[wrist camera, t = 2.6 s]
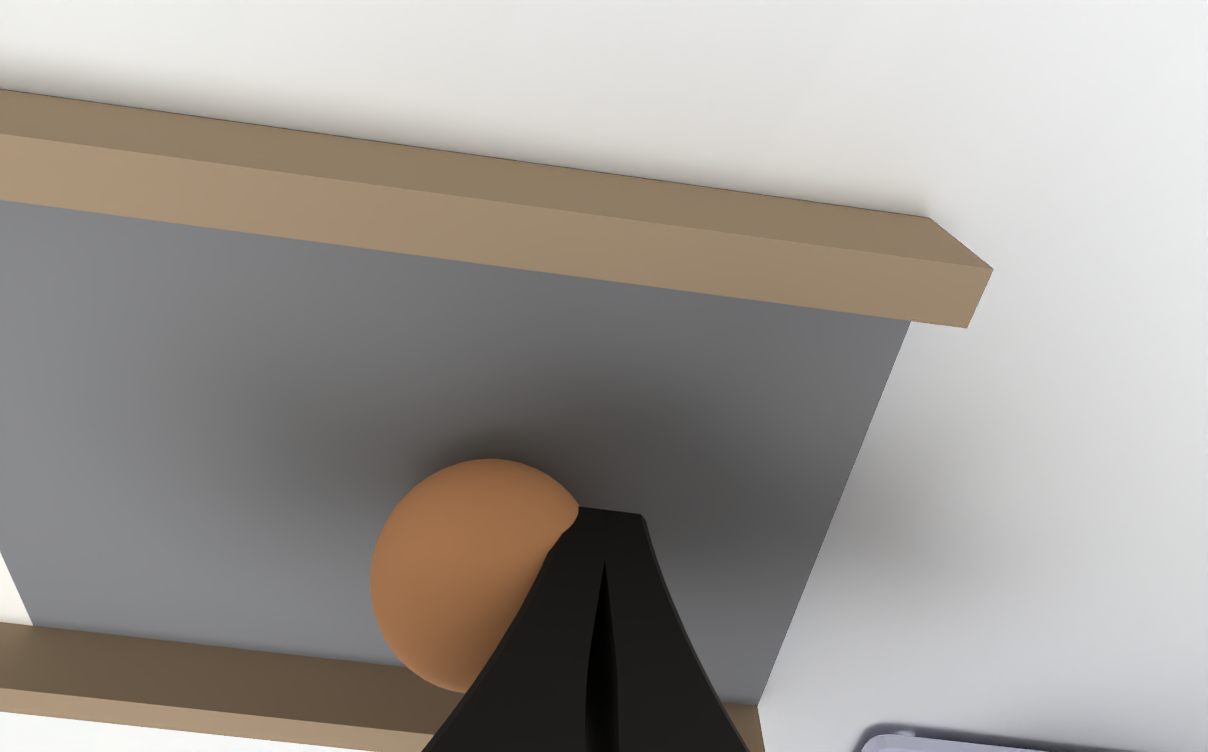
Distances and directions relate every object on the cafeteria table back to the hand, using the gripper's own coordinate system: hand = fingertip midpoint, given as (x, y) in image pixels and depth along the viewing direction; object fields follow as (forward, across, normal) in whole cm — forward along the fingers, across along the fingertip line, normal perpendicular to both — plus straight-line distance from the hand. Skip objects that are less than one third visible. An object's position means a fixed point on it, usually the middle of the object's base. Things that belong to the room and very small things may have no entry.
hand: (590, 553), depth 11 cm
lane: (+2, +9, 0) cm, 9 cm away
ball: (0, +3, 0) cm, 3 cm away
